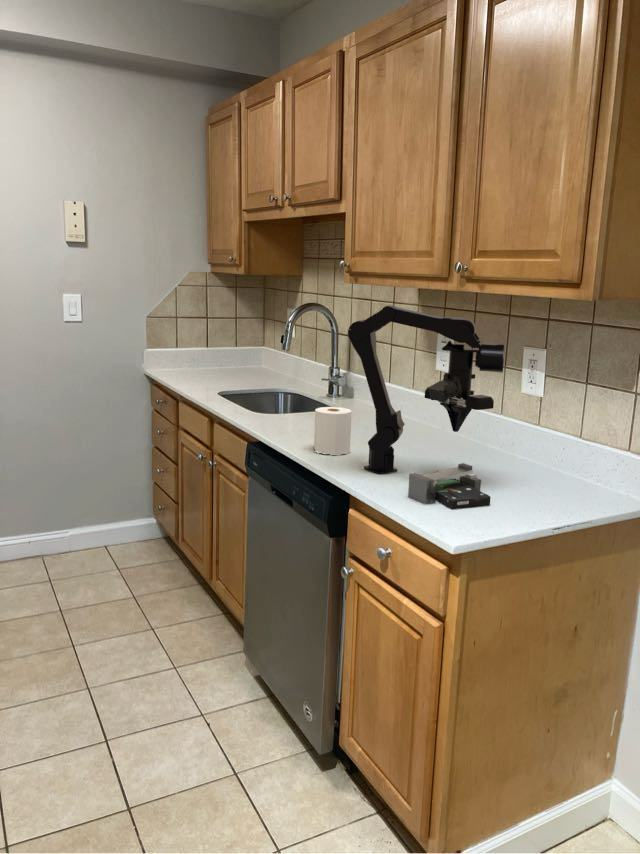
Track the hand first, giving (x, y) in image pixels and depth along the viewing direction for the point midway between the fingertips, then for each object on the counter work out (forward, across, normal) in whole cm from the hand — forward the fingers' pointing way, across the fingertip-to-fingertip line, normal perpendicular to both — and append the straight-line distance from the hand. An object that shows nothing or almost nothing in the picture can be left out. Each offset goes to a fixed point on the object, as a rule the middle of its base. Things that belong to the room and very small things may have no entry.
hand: (455, 431), depth 178 cm
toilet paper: (+12, -36, -12) cm, 40 cm away
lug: (+12, +10, -4) cm, 16 cm away
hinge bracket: (+12, +10, -20) cm, 25 cm away
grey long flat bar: (+7, +10, -12) cm, 17 cm away
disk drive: (+13, +12, -12) cm, 21 cm away
